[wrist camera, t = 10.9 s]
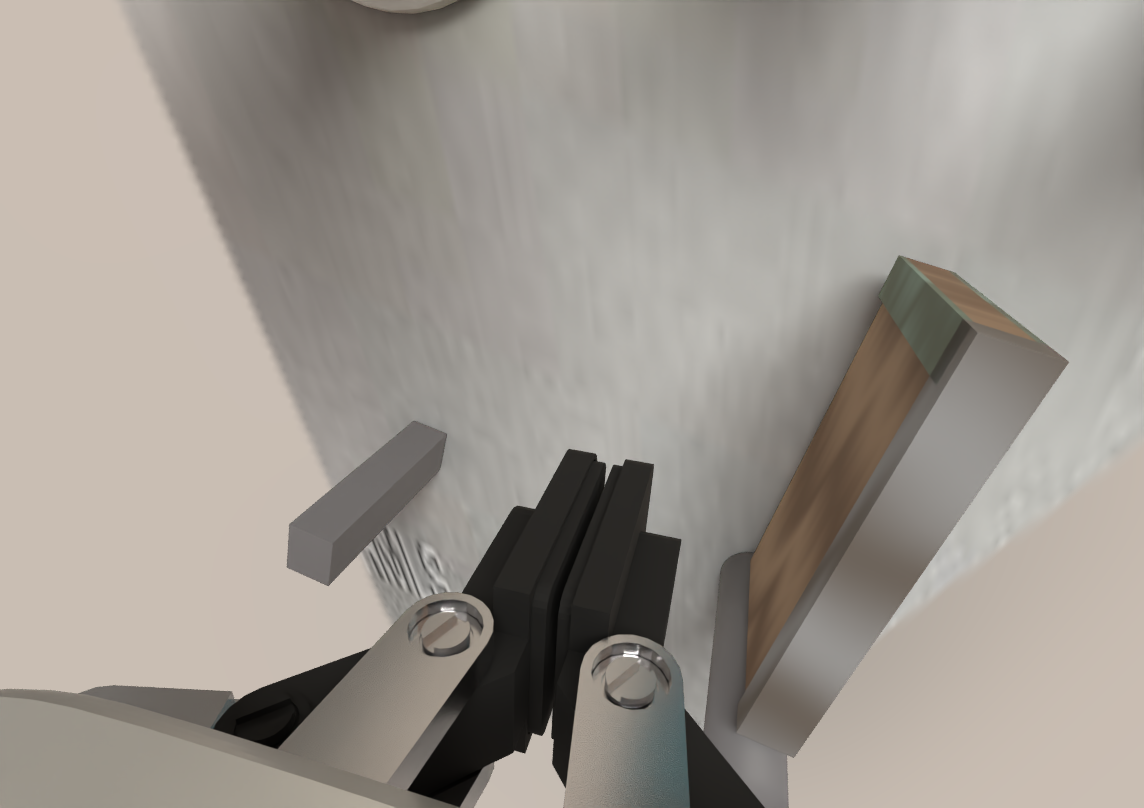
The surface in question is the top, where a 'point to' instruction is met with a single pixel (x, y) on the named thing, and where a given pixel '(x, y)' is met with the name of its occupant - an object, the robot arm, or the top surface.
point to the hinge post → (739, 690)
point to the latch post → (363, 503)
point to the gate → (882, 489)
